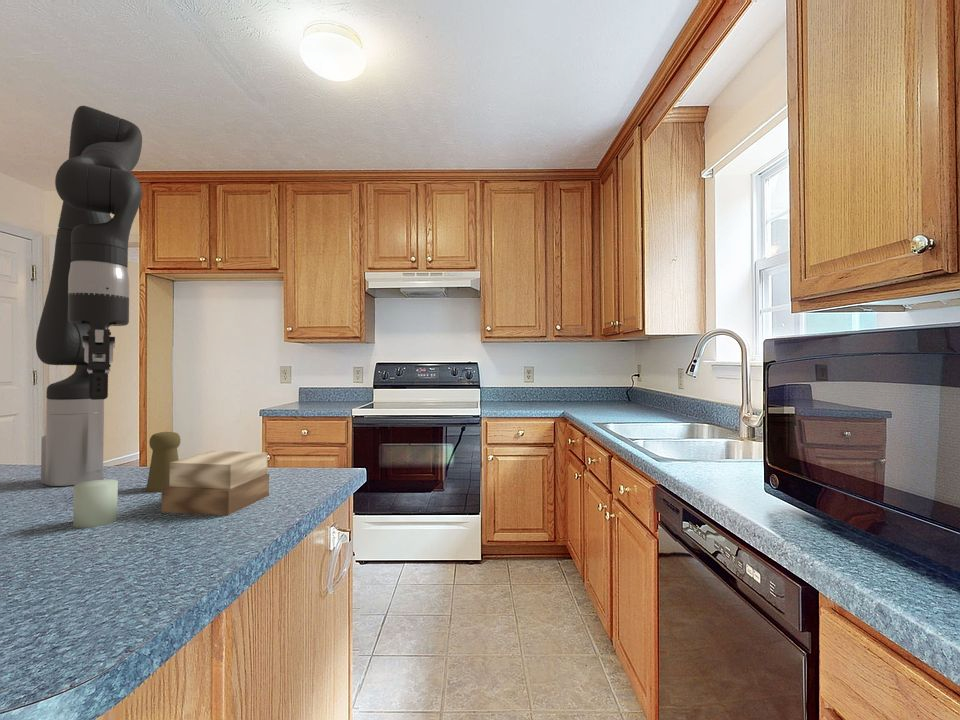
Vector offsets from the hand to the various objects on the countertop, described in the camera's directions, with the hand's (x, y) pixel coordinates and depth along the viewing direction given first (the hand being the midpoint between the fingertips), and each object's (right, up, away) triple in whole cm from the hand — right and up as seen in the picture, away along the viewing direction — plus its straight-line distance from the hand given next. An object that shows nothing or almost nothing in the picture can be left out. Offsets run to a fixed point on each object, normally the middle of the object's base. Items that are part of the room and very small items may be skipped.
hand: (98, 397), depth 76 cm
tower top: (+13, -15, +11) cm, 23 cm away
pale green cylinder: (0, -19, 0) cm, 19 cm away
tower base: (+13, -20, +10) cm, 26 cm away
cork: (-3, -20, +20) cm, 28 cm away
